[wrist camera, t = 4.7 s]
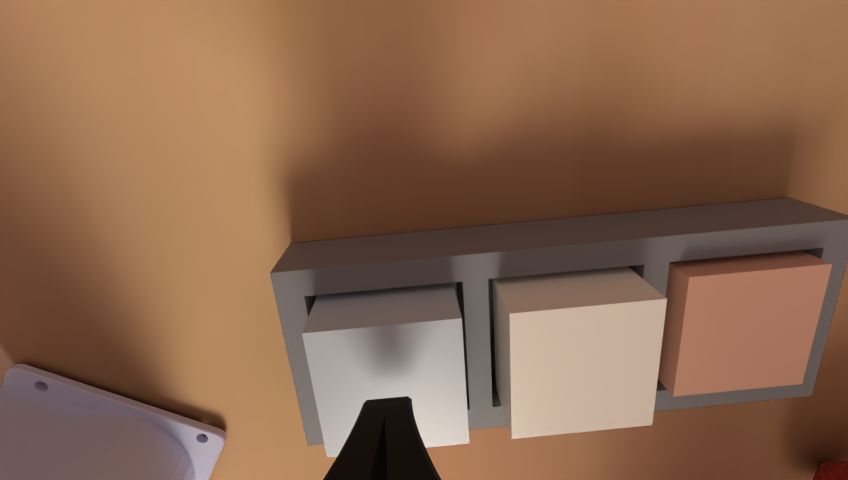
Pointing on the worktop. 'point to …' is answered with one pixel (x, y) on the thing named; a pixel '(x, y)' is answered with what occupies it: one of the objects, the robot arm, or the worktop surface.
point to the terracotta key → (740, 321)
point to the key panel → (552, 253)
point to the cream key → (577, 350)
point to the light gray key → (389, 359)
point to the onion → (832, 471)
